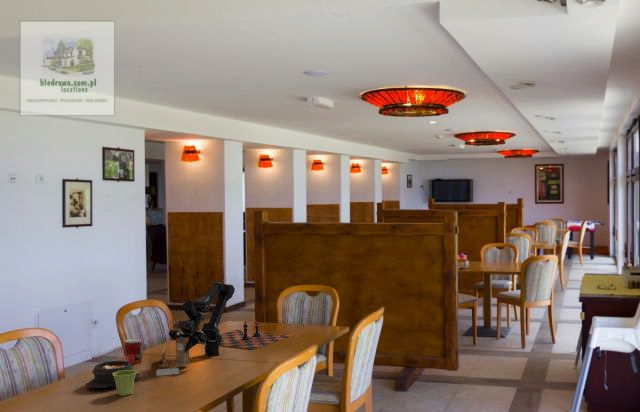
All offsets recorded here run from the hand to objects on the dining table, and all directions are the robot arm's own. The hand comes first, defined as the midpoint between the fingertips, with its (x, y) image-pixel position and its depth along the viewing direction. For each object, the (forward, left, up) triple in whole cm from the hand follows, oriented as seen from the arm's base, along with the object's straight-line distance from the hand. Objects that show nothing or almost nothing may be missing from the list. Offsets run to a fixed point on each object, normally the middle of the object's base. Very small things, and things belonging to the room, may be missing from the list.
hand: (180, 351), depth 317 cm
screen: (+8, -11, -8) cm, 16 cm away
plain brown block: (-1, -1, -7) cm, 7 cm away
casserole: (+29, +18, -8) cm, 35 cm away
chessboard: (-36, -53, -9) cm, 65 cm away
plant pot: (+23, +35, -8) cm, 43 cm away
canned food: (+22, -18, -8) cm, 30 cm away
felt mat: (+6, +6, -8) cm, 12 cm away
